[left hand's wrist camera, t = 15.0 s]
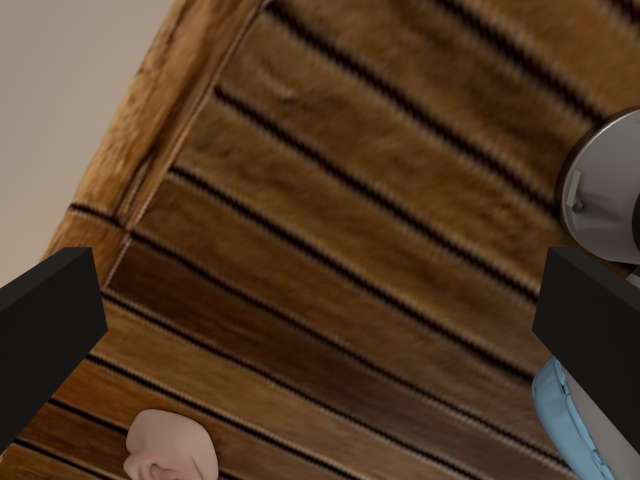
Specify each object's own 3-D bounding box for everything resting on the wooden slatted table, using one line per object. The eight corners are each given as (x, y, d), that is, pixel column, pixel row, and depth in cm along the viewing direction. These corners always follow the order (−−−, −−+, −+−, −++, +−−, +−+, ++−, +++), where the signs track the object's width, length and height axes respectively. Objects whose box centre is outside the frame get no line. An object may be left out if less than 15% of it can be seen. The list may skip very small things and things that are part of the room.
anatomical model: (106, 432, 48) (208, 436, 48) (121, 407, 52) (216, 411, 52) (119, 515, 53) (212, 518, 53) (132, 487, 56) (219, 490, 57)
